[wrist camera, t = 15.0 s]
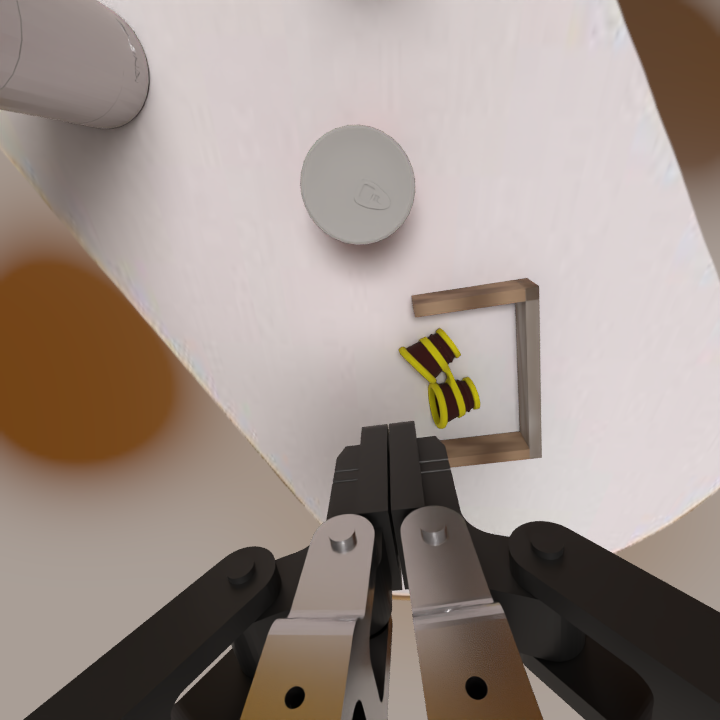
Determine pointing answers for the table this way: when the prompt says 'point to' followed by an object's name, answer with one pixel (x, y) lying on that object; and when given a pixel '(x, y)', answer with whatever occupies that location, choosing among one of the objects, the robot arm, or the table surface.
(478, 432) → the table surface
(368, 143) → the canned food
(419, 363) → the opera glasses
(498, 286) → the walnut bay
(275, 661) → the robot arm
